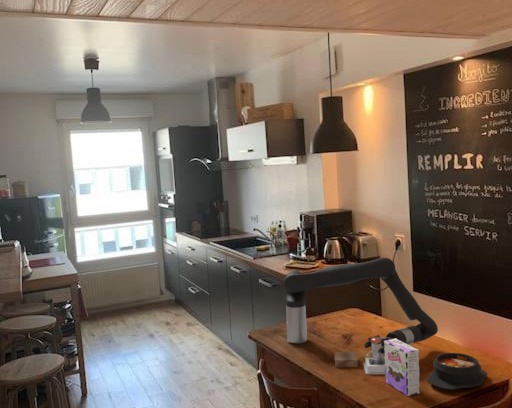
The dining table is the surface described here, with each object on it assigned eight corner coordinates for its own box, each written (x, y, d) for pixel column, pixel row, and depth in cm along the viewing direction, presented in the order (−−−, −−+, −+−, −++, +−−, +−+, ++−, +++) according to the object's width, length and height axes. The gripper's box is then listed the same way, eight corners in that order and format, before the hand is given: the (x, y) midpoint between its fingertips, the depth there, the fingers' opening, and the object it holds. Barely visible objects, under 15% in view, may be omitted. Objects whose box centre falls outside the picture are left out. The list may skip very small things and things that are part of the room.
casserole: (456, 365, 210) (456, 345, 209) (499, 380, 194) (499, 358, 193) (414, 382, 196) (414, 360, 196) (457, 400, 181) (456, 376, 180)
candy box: (384, 382, 198) (383, 340, 197) (397, 379, 200) (396, 337, 199) (407, 396, 185) (405, 352, 184) (420, 393, 187) (419, 349, 186)
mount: (335, 367, 214) (335, 360, 214) (334, 358, 223) (334, 352, 223) (357, 366, 213) (357, 359, 213) (355, 358, 222) (355, 351, 222)
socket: (365, 374, 206) (365, 366, 205) (363, 364, 216) (363, 357, 215) (391, 374, 205) (391, 366, 204) (387, 364, 215) (387, 356, 214)
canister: (372, 369, 208) (371, 340, 207) (371, 365, 212) (370, 337, 211) (382, 369, 208) (382, 340, 207) (381, 365, 212) (380, 337, 211)
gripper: (386, 326, 223) (359, 334, 214) (413, 334, 211) (386, 343, 202) (387, 343, 224) (360, 352, 215) (414, 352, 212) (386, 362, 203)
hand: (373, 348), depth 208 cm, fingers open, 8 cm apart
